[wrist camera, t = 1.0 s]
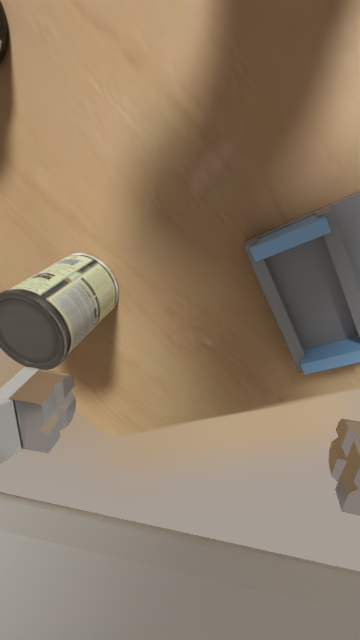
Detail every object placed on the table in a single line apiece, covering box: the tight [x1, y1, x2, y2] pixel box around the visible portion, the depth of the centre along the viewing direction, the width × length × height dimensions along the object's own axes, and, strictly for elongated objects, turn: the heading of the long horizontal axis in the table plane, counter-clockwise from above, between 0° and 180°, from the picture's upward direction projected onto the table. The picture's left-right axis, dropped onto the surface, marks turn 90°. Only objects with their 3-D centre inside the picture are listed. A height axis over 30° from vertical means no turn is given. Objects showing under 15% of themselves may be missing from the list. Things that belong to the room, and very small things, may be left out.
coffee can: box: [0, 253, 119, 370], centre depth 44 cm, size 10×10×14 cm
